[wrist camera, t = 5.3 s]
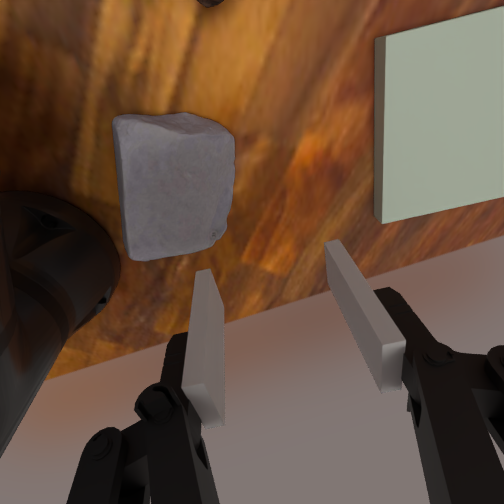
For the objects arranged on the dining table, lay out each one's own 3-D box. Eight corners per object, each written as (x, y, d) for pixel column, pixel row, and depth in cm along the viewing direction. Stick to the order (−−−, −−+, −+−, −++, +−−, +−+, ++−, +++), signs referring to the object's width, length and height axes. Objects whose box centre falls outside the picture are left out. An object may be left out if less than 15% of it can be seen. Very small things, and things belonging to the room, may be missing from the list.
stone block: (214, 109, 27) (95, 107, 21) (249, 122, 24) (123, 125, 18) (206, 225, 33) (114, 249, 27) (233, 246, 31) (137, 278, 25)
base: (373, 215, 32) (382, 224, 31) (374, 38, 24) (386, 36, 22) (514, 183, 32) (531, 190, 30) (567, -11, 23) (593, -17, 22)
